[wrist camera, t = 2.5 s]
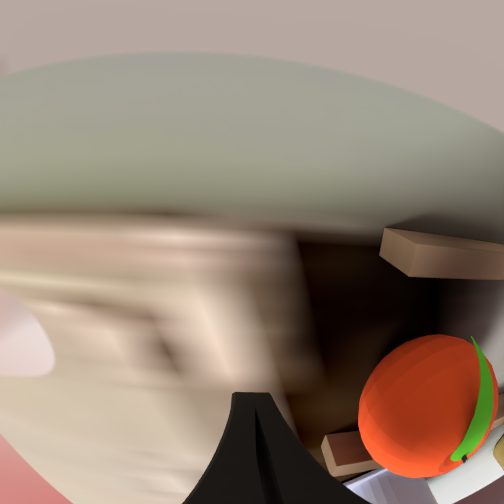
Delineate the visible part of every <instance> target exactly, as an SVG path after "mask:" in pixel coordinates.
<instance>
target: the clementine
mask: <svg viewBox="0 0 504 504" xmlns="http://www.w3.org/2000/svg"><path fill="white" fill-rule="evenodd" d="M471 338H472V341H473V344H474V345H472V344H471V343H469V342H467V341H466V340H464V339H461V338H457V337H453V336H448V335H442V334H436V335H427V336H423V337H419V338H416V339H413V340H410V341H407V342H405V343H404V344H402V345H400V346H398V347H397V348H395V349H394V350H393V351H391V352H390V353H389V354H388V355H386V356H385V357H384V358H383V359H382V360H381V362H380V363H379V364H378V365H377V366H376V367H375V369H374V370H373V372H372V373H371V375H370V377H369V378H368V380H367V383H366V385H365V387H364V389H363V392H362V395H361V397H360V403H359V417H358V426H359V430H360V434H361V438H362V441H363V443H364V445H365V448H366V449H367V450H368V452H369V453H370V455H371V456H372V458H373V459H374V460H375V461H376V462H377V463H379V464H380V465H382V466H383V467H384V468H386V469H387V470H389V471H390V472H392V473H395V474H398V475H402V476H405V477H411V478H421V477H432V476H437V475H441V474H444V473H446V472H449V471H451V470H452V469H454V468H456V467H458V466H459V465H461V464H462V463H465V462H466V460H467V459H468V458H470V457H471V456H472V455H473V454H474V453H475V452H476V451H477V450H478V449H479V448H480V447H481V445H482V444H483V443H484V441H485V440H486V438H487V436H488V434H489V432H490V430H491V428H492V425H493V422H494V419H495V416H496V413H497V408H498V385H497V380H496V377H495V374H494V371H493V368H492V365H491V364H490V362H489V361H488V360H487V358H486V357H485V356H484V354H483V353H482V351H481V350H480V348H479V347H478V345H477V343H476V342H475V340H474V339H473V337H472V336H471Z"/></svg>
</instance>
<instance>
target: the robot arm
mask: <svg viewBox="0 0 504 504" xmlns="http://www.w3.org/2000/svg"><path fill="white" fill-rule="evenodd" d="M182 504H438V503H437V501H436V499H435V498H434V496H433V494H432V492H431V490H430V488H429V486H428V484H427V483H426V481H425V479H424V477H421V478H411V477H405V476H402V475H398V474H395V473H392V472H390V471H389V470H387V469H386V468H384V467H382V468H378V469H376V470H374V471H371V472H369V473H367V474H365V475H362V476H360V477H358V478H355V479H353V480H350V481H348V482H345V483H343V484H342V483H341V482H340V481H338V480H337V479H336V478H334V477H333V476H332V475H331V474H330V473H329V472H328V471H327V470H326V469H324V468H323V467H322V466H321V465H320V464H319V463H318V462H317V461H316V459H315V458H314V457H313V456H312V455H311V454H310V453H309V452H308V451H307V449H306V448H305V447H304V446H303V445H302V443H301V442H300V441H299V439H298V438H297V437H296V435H295V434H294V433H293V431H292V430H291V428H290V427H289V425H288V424H287V422H286V421H285V419H284V418H283V416H282V414H281V413H280V411H279V409H278V408H277V406H276V404H275V402H274V400H273V398H272V396H271V394H269V393H255V392H235V393H233V394H232V399H231V410H230V414H229V418H228V421H227V424H226V427H225V430H224V433H223V436H222V438H221V440H220V443H219V445H218V447H217V450H216V452H215V454H214V456H213V458H212V460H211V462H210V463H209V465H208V467H207V469H206V470H205V472H204V474H203V475H202V477H201V479H200V480H199V482H198V483H197V485H196V486H195V488H194V489H193V490H192V492H191V493H190V494H189V496H188V497H187V498H186V500H185V501H184V502H183V503H182Z"/></svg>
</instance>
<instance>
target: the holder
mask: <svg viewBox="0 0 504 504" xmlns="http://www.w3.org/2000/svg"><path fill="white" fill-rule="evenodd" d="M379 256H381V257H382V258H384V259H385V260H386V261H388V262H389V263H391V264H392V265H393V266H395V267H396V268H398V269H399V270H400V271H402V272H403V273H405V274H406V275H407V276H409V277H429V278H455V279H484V280H504V245H503V244H497V243H491V242H485V241H478V240H472V239H465V238H458V237H451V236H444V235H437V234H430V233H423V232H415V231H407V230H399V229H391V228H384V233H383V238H382V244H381V249H380V254H379ZM503 424H504V393H501V394H499V395H498V408H497V413H496V416H495V419H494V422H493V425H492V428H491V430H492V429H494V428H497V427H499V426H501V425H503ZM321 448H322V451H323V454H324V458H325V461H326V464H327V467H328V470H329V473H330V474H331V475H332V476H333V477H335V476H341V475H347V474H353V473H358V472H363V471H368V470H373V469H377V468H382V467H383V466H382V465H380V464H379V463H377V462H376V461H375V460H374V459H373V458H372V456H371V455H370V453H369V452H368V450H367V449H366V448H365V445H364V443H363V441H362V438H361V434H360V431H353V432H345V433H337V434H328V435H325V438H324V440H323V443H322V445H321Z"/></svg>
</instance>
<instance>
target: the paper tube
mask: <svg viewBox="0 0 504 504" xmlns="http://www.w3.org/2000/svg"><path fill="white" fill-rule="evenodd" d="M493 455H494V457H495V459H496V460H497V462H498V463H499V464H500V466H501V467H502V469H503V470H504V436H503V437H502V438H501V439H500V440H499V442H498V443H497V445H496V446H495V449H494V451H493Z"/></svg>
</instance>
